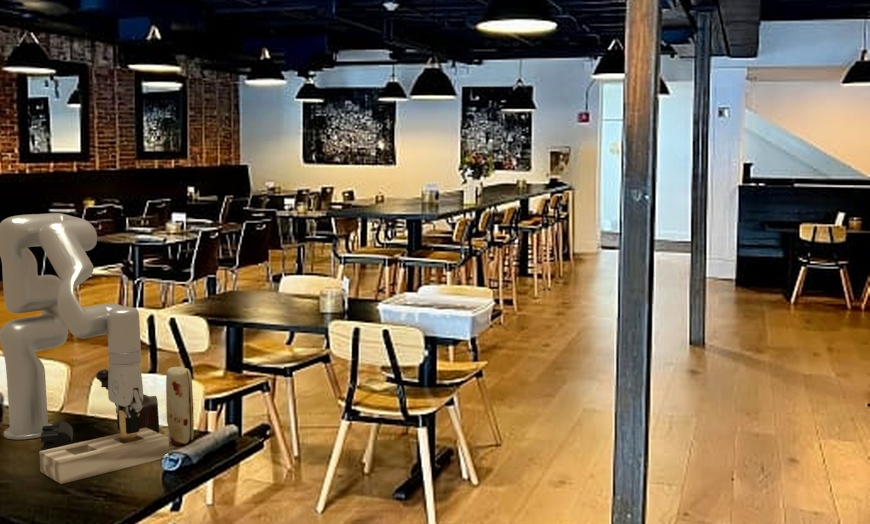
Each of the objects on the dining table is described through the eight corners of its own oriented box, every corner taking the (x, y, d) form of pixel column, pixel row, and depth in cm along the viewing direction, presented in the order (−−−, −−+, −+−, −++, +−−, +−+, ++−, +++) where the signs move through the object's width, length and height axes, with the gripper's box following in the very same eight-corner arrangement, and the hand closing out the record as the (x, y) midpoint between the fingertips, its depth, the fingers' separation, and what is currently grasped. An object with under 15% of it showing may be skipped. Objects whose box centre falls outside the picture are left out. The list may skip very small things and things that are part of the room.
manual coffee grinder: (158, 427, 254) (155, 363, 252) (160, 439, 244) (157, 372, 242) (98, 433, 249) (95, 368, 247) (98, 445, 239) (94, 377, 237)
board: (40, 471, 218) (39, 451, 218) (146, 446, 237) (146, 427, 236) (60, 484, 210) (59, 462, 209) (169, 456, 228) (168, 437, 228)
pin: (118, 453, 227) (115, 409, 226) (133, 449, 230) (131, 406, 229) (125, 456, 225) (123, 412, 223) (140, 452, 227) (138, 409, 226)
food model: (164, 439, 243) (161, 365, 241) (189, 435, 246) (186, 362, 244) (171, 449, 234) (168, 372, 232) (197, 445, 237) (194, 369, 235)
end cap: (72, 456, 230) (71, 430, 229) (41, 460, 227) (40, 433, 227) (73, 445, 239) (72, 419, 238) (44, 448, 237) (42, 422, 236)
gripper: (95, 355, 228) (99, 427, 230) (125, 365, 216) (129, 441, 218) (124, 350, 233) (127, 421, 235) (155, 360, 221) (158, 434, 223)
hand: (128, 430), depth 227 cm, fingers closed on pin, 3 cm apart
